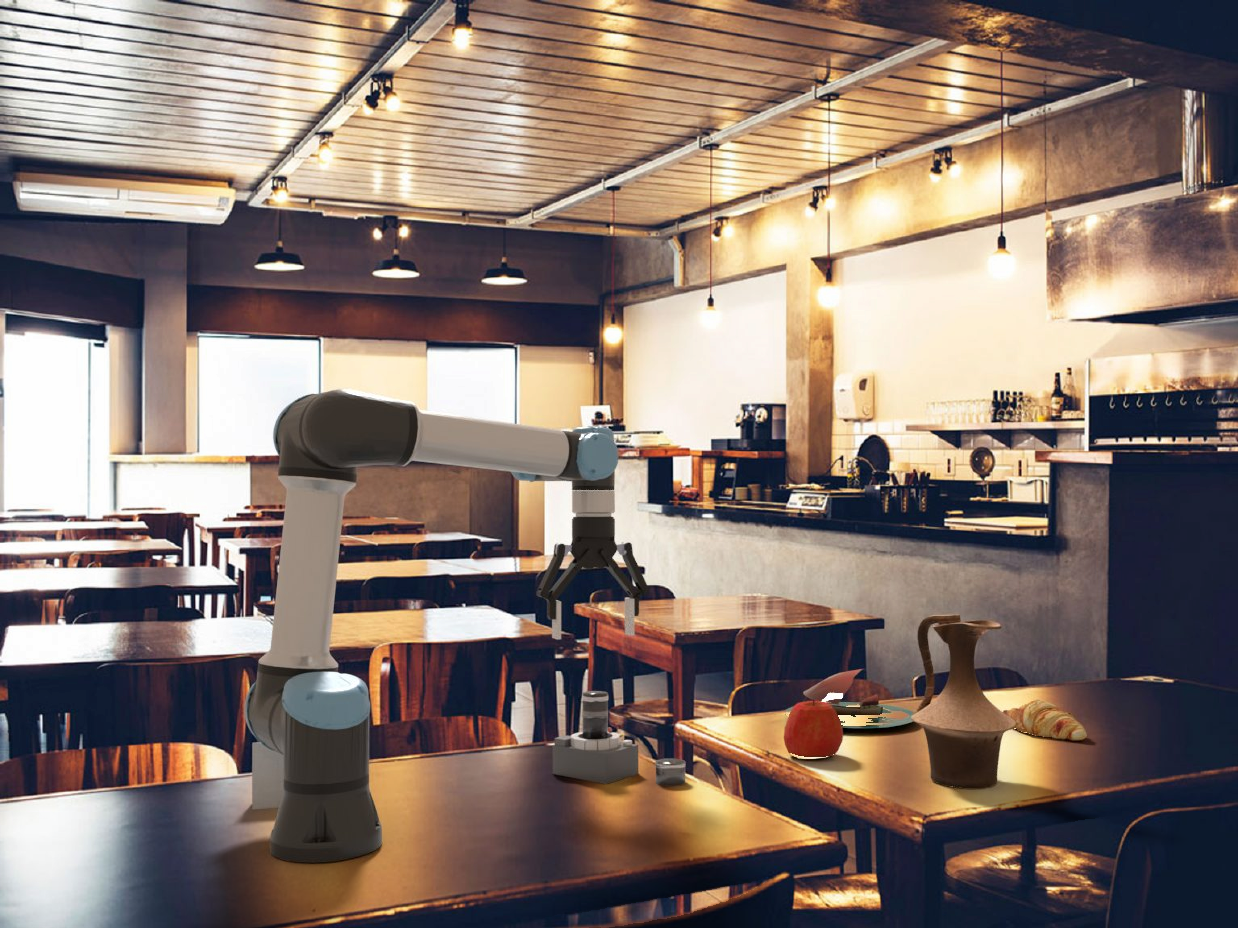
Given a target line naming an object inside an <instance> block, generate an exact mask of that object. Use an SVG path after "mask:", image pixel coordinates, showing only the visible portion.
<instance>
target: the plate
mask: <svg viewBox="0 0 1238 928" xmlns="http://www.w3.org/2000/svg"><path fill="white" fill-rule="evenodd" d="M865 670H866V668H860V669H855V670H847V671H843V672H838V673H836V674H833V675H830V676H828V677H827V678H825V679H824V680H822V681H820V682H817V684H815V685H813V686H811V687H810V688H808V689H806V690H804V691H803V695H804V696H805V698H804V699H803V701H802V702H806V701H807V699H810V700H811V701H813V699H814V700H815V701H823V702H827V703H829V704H830V705H831V706H832V707H833V708H834V710H835V711H836V713H837V715H851V716H853V717H856V716H855V715H880V714H882V713H891V711H902V712H905V713H907V714H909V716H907V717H906V718H903V720H896V721H894V720H890V719H898V718H886V717H884V718H883V717H878V718H868V719H872V720H871V721H873V722H866V723H891V724H883V725H866V726H843V725H842V728H847V729H876V728H877V729H880V728H890V727H891V728H892V727H896V726H902V725H906V724H907V725H908V724H909V723H912V722H914V721H913V720H911V716H912V715H913V714H914V712H915V711H912V710H911V709H907V708H904V707H899V706H895V705H888V704H883V703H882V704H881V703H879V702H880V701H879V696H878V694H877V693H876V694H874V695H871V696H868V697H866V698H865V697H864V698H863V699H862V697H860V701H858V702H856V701H853V702H852V701H849V702H848V701H842V699H843V698H844V697H845V694H846V693H847V692H848V690H849V689H850V687H851V686H855V684H854V683H853V682H854V678H855V677H856V676H857V675H858V674H859V673H860V672H861V671H865ZM865 675H866V674H864V679H866V678H865ZM856 691H857V690H856ZM857 693H859V692H858V691H857ZM846 698H847V699H848V697H846ZM849 699H850V700H852V698H850V697H849ZM853 700H856V699H853ZM857 704H859V705H860V707H846V706H848V705H857ZM883 707H884V708H885V709H889V710H891V711H888V710H885V709H883ZM792 708H793V706H790V707H788V708H786V709H785V710H784V712H786V711H791V710H792ZM784 715H785V716H786V714H784ZM882 719H885V720H882ZM899 719H900V718H899ZM887 720H890V721H887ZM840 722H841V723H845V721H844V722H843V721H840Z"/></svg>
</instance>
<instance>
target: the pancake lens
mask: <svg viewBox="0 0 1238 928" xmlns="http://www.w3.org/2000/svg"><path fill="white" fill-rule="evenodd" d="M654 764H655V783H656V785H659V786H662V787H678V786H684V785H685V784H686V761H685V760H683V759H679V758H661V759H657V760H655V761H654Z"/></svg>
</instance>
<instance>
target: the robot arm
mask: <svg viewBox="0 0 1238 928" xmlns="http://www.w3.org/2000/svg"><path fill="white" fill-rule="evenodd" d="M272 433H273V434H272V436H273V437H272V439H273V440H272V441H273V445H274V448H275V451H276V453H277V455H278V457H279V463H278V471H277V472H278V473H277V479H278V480H279V482H280V483H281V484H282V486H284V487H285V489H286V496H285V505H284V516H283V525H282V532H281V533H282V535H281V544H280V552H279V564H278V571H277V572H278V573H277V580H276V581H277V582H276V583H277V585H276V590H275V591H276V593H275V600H274V601H275V603H274V611H273V621H272V623H273V624H272V630H271V631H272V633H271V640H270V648H269V650H268V651H267V652H266V653H264V655H263V656H262V657H260V658H259V659H258V664H257V673H256V680H255V681H254V683H253V684H252V685H251V686H250V688H249V690H248V692H247V694H246V697H245V701H244V717H245V718H244V719H245V721H246V722H245V723H246V725H247V727H248V729H249V732H250V733H251V734H252V735H253V736H254V738H255V739H256V740H257V742H258V741H259V742H261V744H262V745H264V746H265V747H267V748H268V749H270V750H273V751H276V752H278V753H280V754H282V755H283V778H284V789H283V797H282V800H281V803H280V807H278V810H277V814H276V818H275V820H274V824H273V829H272V830H271V832H270V837H269V841H270V842H269V843H270V844H269V847H270V848H269V849H270V850H269V851H270V854H271V855H272V856H273V857H275V858H276V859H279V860H284V861H288V862H295V863H327V862H329V863H330V862H337V861H338V862H339V861H344V860H350V859H354V858H358V857H361V856H364V855H367V854H369V853H371V852H374V851H376V850H377V849H379V848H380V846H382V844H383V828H382V822H381V821H380V818H379V815H378V810H377V807H376V805H375V801H374V799H373V796H372V793H371V790H370V713H371V702H370V696H369V689H368V686H367V684H366V682H365V681H364V680H362V678H359V677H358V676H355V675H353V674H349V673H340V672H339V663H338V661H336V660H335V658H334V657H333V656H332V654H331V652H330V649H331V648H330V645H331V637H332V636H331V635H332V628H333V619H334V618H333V616H334V607H335V606H334V605H335V596H336V588H337V576H338V566H339V555H340V545H341V536H342V527H343V526H342V525H343V516H344V507H345V506H344V505H345V497H346V495H347V494H348V493H349V492H350V491H352V490H353V488H355V487H356V486H357V478H358V470H359V469H358V468H359V467H367V466H387V465H388V466H395V467H396V466H398V467H405V466H407V465H408V464H410V463H411V462H413V461H414V462H424V463H432V464H441V465H451V466H459V467H468V468H478V469H485V470H495V471H501V472H502V471H503V472H510V473H511V475H512V476H513V478H514V479H516V480H517V481H522V482H523V481H525V482H530V483H533V482H571V493H572V494H571V497H572V498H571V500H572V501H571V504H572V505H571V512H572V514H575V516H573V517H572V518H571V538H572V540H571V543H570V544H564V543H562V542H561V543H560V542H557V543H555V544H554V547H553V555H552V558H551V560H550V562H549V565H548V566H547V569H546V571H545V573H544V575H543V577H542V580H541V582H540V584H539V585H538V588H537V590H536V593H535V595H536V597H540V598H542V599H544V600H546V617H547V619H548V620H550V621H551V632H552V633H551V638H552V639H554V640H562V601H560V600H558V598H559V597H560V596H561V594H562V593H563V592H564V590H566V588H567V587H568V586H569V584H570V583H571V582H572V580H573V579H574V577H576V576H577V575H578V573H579V572H580V571H581V570H582V569H584V570H585V569H586V570H588V569H589V570H590V569H594V568H595V569H602V570H603V569H604V568H605V569H606V570H608V571H609V573H610V574H611V575H612V576H613V578H614V579H615V580H616V581H617V582H618V584H619V585H620V586H621V588H622V589H623V590H624V591H625V592H626V594H627V595H628V596H629V597H624V635H626V636H628V637H633V636H635V617H638V616H639V615H640V599H641V598H642V596H644V595H647V594H649V593H650V587H649V586H648V584H647V581H646V580H645V577H644V576H643V573H642V570H641V569H640V567H639V565H638V562H637V561H636V560H637V559H635V556H634V552H633V551H634V549H633V544H632V543H631V542H626V541H621V543H616V541H615V540H616V539H615V537H616V536H615V535H616V526H615V525H616V521H615V518H614V516H612V514H615V512H616V504H615V503H616V500H615V497H616V496H615V495H616V494H615V492H616V491H615V481H616V480H615V477H616V476H615V475H616V474H615V471H616V468H617V467H618V464H619V460H620V458H619V449H618V447H617V446H618V445H617V444H616V441H615V435H614V432H613V430H612V429H610V428H609V427H600V426H597V427H596V426H583V427H580V426H579V427H575V428H574V429H572V431H567V430H560V429H556V428H549V427H548V428H547V427H541V426H533V425H527V424H519V423H512V422H505V421H500V420H499V421H498V420H492V419H487V418H486V419H484V418H478V417H472V416H471V417H470V416H463V415H457V414H451V413H450V414H449V413H444V412H443V413H442V412H436V411H430V410H423V409H418V407H417V405H416V404H415V403H414V402H413V401H408V400H403V399H395V398H392V397H391V398H390V397H385V396H383V395H382V396H381V395H377V394H372V393H368V392H363V391H360V390H354V389H348V388H347V389H344V388H343V389H341V388H338V389H332V390H328V391H325V392H319V393H310V394H309V393H308V394H306V395H303V396H301V397H298V398H297V399H295V400H294V401H292V402H290V403H288V405H287V406H285V407H284V408H283V409H282V411H280V413H279V415H278V417H277V419H276V420H275V423H274V427H273V432H272ZM617 552H618V554H619V555H620V556H621V557H622V561H623V562H624V563H625V566H626V568H627V570H628V573H629V575H630V577H631V579H632V581H633V582H631V580H630V579H629V578H628V576H627V575H626V574H625V573H624V572H623V570H622V569H621V568H620V567H619V564H618V562H616V561H615V559H614V558H613V557H614V556H615V554H616V553H617ZM568 553H570V554H571V556H573V559H572V560H571V562H570V563H569V564H568V567H567V568H566V569H565V571H564V572H563V573H562V574H561V576H560V577H559V578H558V580H556V582H555V579H556V577H557V576H558V572H559V571H560V569H561V566H562V564H563V562H564V560H565V557H567V556H568ZM554 582H555V583H554ZM553 583H554V585H553ZM633 583H634V584H633Z"/></svg>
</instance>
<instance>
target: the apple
mask: <svg viewBox="0 0 1238 928" xmlns="http://www.w3.org/2000/svg"><path fill="white" fill-rule="evenodd" d="M792 707H793V708H792V710H791V712H790V714H789V717H787V720H786V723H785V726H784V732H783V741H784V746H785V748H786V751H787V752H788V753H792V754H795V755H798V756H804V757H826V756H831V755H833V754H834V755H836V754H837V753H838V751H839V749H840V747H841V745H842V743H843V740H844V738H843V737H844V731H843V727H842V725H841V722H840V719H839V717H838V715H837V713H836V711H835V710H834V708H833V707H832V706H831V705H830V704H829V703H827V702H823V701H815V700H814V699H813V700H805V702H803V701H802V702H797V703H796V704H795V705H793V706H792ZM834 755H833V756H834ZM831 757H832V756H831Z"/></svg>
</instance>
